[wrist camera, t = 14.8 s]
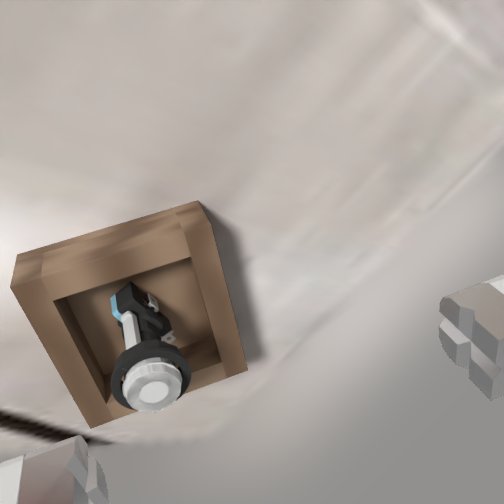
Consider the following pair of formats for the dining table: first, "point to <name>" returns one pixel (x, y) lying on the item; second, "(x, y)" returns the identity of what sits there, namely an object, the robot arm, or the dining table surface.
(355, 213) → the dining table surface
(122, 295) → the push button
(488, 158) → the dining table surface
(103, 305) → the wooden tray
